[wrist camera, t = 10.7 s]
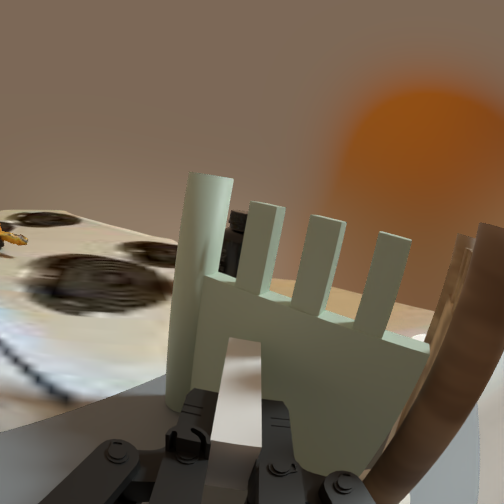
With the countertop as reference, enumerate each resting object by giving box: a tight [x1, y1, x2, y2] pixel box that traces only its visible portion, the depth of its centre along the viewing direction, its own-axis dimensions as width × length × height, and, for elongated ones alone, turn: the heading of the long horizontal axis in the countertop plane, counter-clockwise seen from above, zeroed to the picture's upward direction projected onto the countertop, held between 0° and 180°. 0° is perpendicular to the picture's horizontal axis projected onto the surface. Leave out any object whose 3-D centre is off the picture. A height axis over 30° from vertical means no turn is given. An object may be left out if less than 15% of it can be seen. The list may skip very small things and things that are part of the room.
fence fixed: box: [362, 223, 504, 504], centre depth 16 cm, size 17×3×16 cm, turn 145°
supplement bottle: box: [218, 210, 248, 278], centre depth 43 cm, size 7×7×12 cm
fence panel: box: [165, 172, 430, 477], centre depth 15 cm, size 14×2×15 cm, turn 60°
